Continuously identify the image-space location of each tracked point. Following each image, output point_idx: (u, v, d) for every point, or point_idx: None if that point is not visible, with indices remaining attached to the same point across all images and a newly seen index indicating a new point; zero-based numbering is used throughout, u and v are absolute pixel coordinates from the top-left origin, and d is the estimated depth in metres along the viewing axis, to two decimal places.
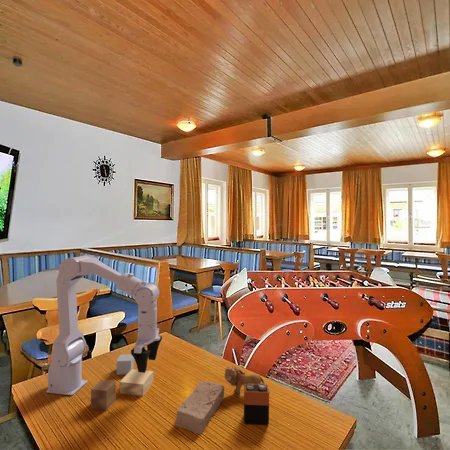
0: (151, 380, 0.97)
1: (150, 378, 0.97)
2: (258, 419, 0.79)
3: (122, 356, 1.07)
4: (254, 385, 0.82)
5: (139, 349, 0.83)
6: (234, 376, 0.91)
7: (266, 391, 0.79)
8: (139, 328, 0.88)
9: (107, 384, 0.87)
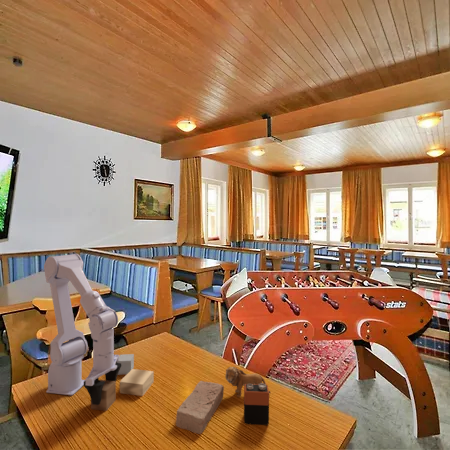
0: (151, 380, 0.97)
1: (150, 378, 0.96)
2: (258, 419, 0.79)
3: (122, 356, 1.07)
4: (254, 385, 0.82)
5: (91, 381, 0.79)
6: (235, 376, 0.91)
7: (266, 391, 0.79)
8: (94, 357, 0.84)
9: (107, 384, 0.87)
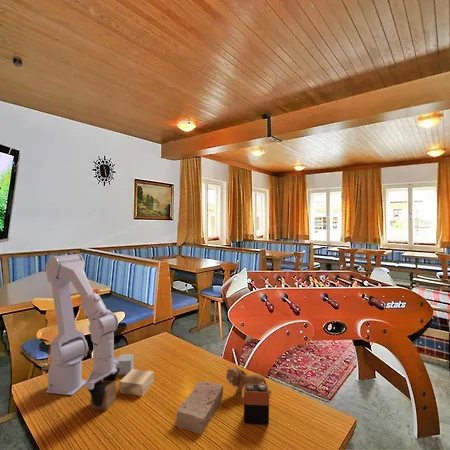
0: (151, 380, 0.97)
1: (150, 378, 0.96)
2: (258, 419, 0.79)
3: (122, 356, 1.07)
4: (254, 385, 0.82)
5: (91, 385, 0.79)
6: (236, 376, 0.91)
7: (266, 391, 0.79)
8: (94, 361, 0.85)
9: (107, 384, 0.87)
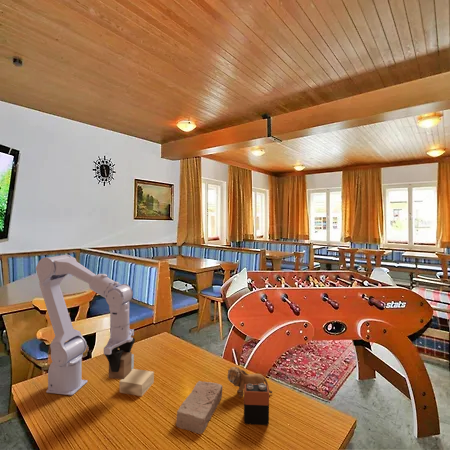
0: (151, 381, 0.97)
1: (150, 378, 0.96)
2: (258, 419, 0.79)
3: None
4: (254, 385, 0.82)
5: (109, 350, 0.83)
6: (237, 377, 0.91)
7: (266, 391, 0.79)
8: (111, 329, 0.88)
9: (124, 354, 0.91)
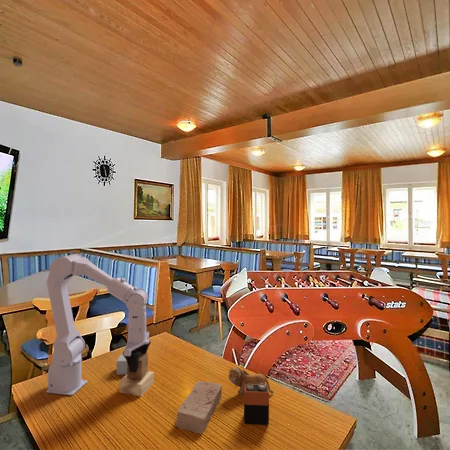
0: (151, 381, 0.97)
1: (150, 379, 0.96)
2: (258, 419, 0.79)
3: (122, 356, 1.07)
4: (254, 385, 0.82)
5: (128, 352, 0.88)
6: (238, 377, 0.91)
7: (266, 391, 0.79)
8: (129, 332, 0.93)
9: (141, 356, 0.96)
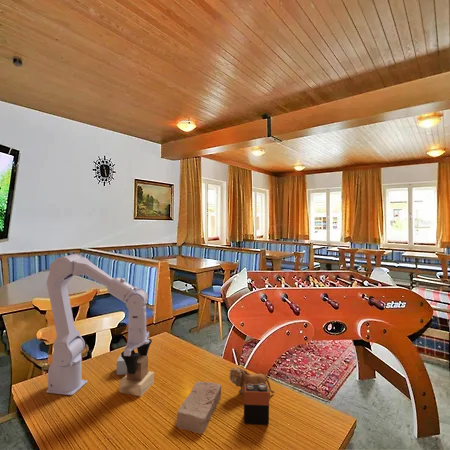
0: (151, 381, 0.97)
1: (150, 379, 0.96)
2: (258, 419, 0.79)
3: None
4: (254, 385, 0.82)
5: (128, 352, 0.88)
6: (239, 377, 0.91)
7: (266, 391, 0.79)
8: (129, 332, 0.93)
9: (141, 358, 0.96)
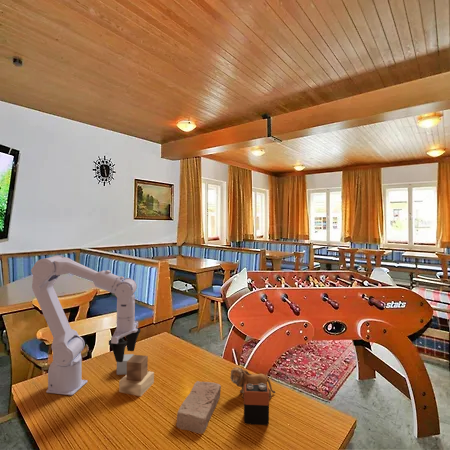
0: (151, 381, 0.97)
1: (150, 379, 0.96)
2: (258, 419, 0.79)
3: None
4: (254, 385, 0.82)
5: (116, 340, 0.89)
6: (240, 377, 0.90)
7: (266, 391, 0.79)
8: (117, 320, 0.94)
9: (141, 358, 0.96)
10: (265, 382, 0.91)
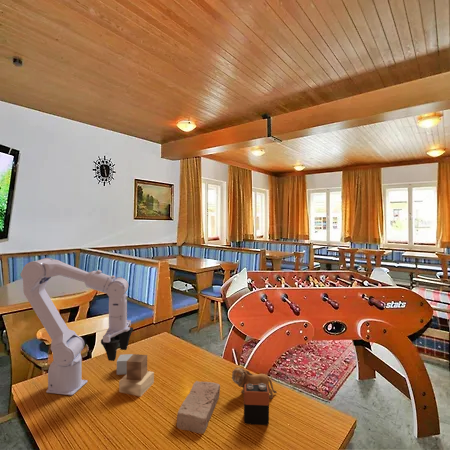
0: (151, 381, 0.97)
1: (150, 379, 0.96)
2: (258, 419, 0.79)
3: (122, 356, 1.07)
4: (254, 385, 0.82)
5: (108, 338, 0.89)
6: (242, 377, 0.90)
7: (266, 391, 0.79)
8: (109, 319, 0.94)
9: (140, 357, 0.96)
10: (267, 382, 0.91)
